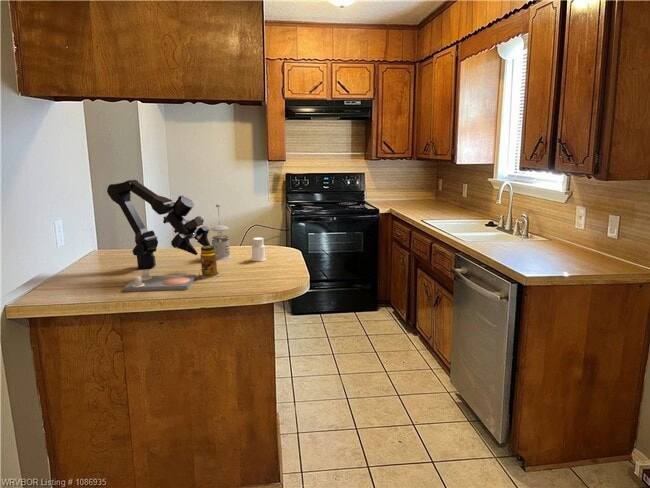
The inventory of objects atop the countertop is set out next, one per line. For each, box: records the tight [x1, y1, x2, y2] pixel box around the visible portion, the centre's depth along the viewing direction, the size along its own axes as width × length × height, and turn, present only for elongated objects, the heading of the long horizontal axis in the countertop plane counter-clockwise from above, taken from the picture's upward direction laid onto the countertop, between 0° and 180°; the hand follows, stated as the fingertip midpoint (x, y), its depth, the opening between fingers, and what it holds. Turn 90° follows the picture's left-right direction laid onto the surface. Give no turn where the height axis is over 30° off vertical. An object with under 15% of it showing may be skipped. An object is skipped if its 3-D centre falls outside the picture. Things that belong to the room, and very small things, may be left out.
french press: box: [210, 203, 233, 261], centre depth 221 cm, size 10×12×25 cm
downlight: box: [248, 237, 268, 262], centre depth 216 cm, size 8×7×10 cm
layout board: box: [124, 269, 197, 292], centre depth 182 cm, size 23×14×5 cm, turn 93°
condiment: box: [199, 245, 221, 279], centre depth 194 cm, size 7×8×12 cm
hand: (203, 251), depth 194 cm, fingers open, 9 cm apart
